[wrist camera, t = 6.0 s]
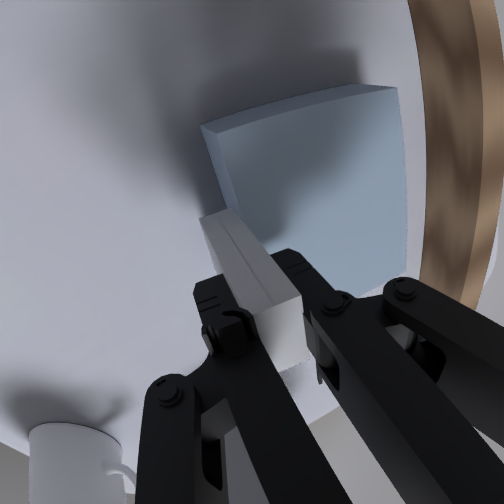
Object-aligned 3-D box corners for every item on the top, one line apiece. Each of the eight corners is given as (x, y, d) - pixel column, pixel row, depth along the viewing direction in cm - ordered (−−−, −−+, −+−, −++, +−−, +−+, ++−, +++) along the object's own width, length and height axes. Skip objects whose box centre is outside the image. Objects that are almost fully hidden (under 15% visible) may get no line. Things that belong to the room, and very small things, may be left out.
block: (198, 124, 13) (216, 134, 10) (350, 83, 14) (396, 87, 11) (256, 295, 18) (279, 335, 15) (370, 243, 20) (405, 270, 17)
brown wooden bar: (400, -29, 11) (458, -40, 7) (431, -22, 11) (486, -27, 8) (417, 295, 24) (452, 326, 20) (440, 280, 24) (475, 309, 21)
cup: (291, 419, 27) (338, 506, 18) (218, 456, 26) (251, 542, 18) (252, 383, 22) (308, 502, 14) (163, 429, 22) (193, 542, 13)
